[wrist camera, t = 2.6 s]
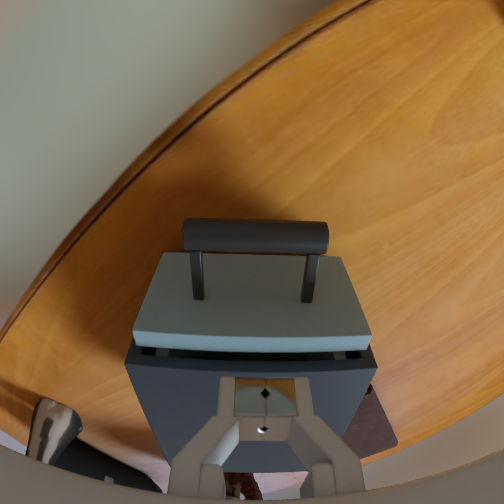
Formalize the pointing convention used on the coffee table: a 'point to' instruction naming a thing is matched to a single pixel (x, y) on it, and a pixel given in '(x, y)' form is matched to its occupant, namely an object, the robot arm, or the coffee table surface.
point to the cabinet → (207, 391)
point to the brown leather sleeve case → (369, 428)
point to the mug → (241, 486)
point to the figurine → (51, 430)
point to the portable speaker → (101, 467)
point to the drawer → (252, 295)
